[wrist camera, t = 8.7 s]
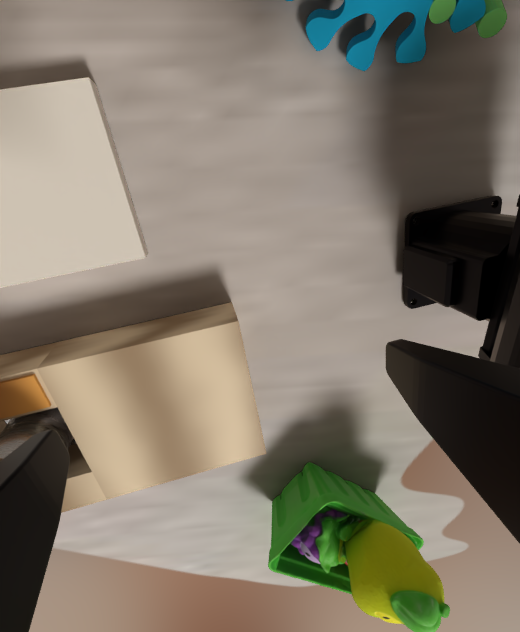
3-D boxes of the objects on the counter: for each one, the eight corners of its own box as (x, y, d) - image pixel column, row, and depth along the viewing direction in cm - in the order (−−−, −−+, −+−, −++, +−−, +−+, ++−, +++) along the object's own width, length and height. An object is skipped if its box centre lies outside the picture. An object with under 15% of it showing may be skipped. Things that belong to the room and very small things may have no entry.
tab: (95, 84, 15) (88, 77, 14) (148, 253, 18) (145, 258, 17) (-145, 118, 14) (-173, 113, 13) (-43, 292, 17) (-58, 299, 16)
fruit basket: (250, 506, 28) (286, 693, 18) (316, 434, 26) (397, 594, 16) (340, 539, 33) (409, 704, 22) (401, 479, 31) (507, 627, 21)
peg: (75, 374, 20) (25, 462, 14) (105, 436, 23) (73, 537, 16) (-14, 395, 20) (-108, 498, 13) (25, 457, 22) (-40, 571, 16)
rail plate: (231, 302, 21) (238, 322, 18) (257, 423, 25) (267, 455, 22) (-81, 373, 18) (-131, 410, 16) (5, 492, 23) (-22, 539, 20)
